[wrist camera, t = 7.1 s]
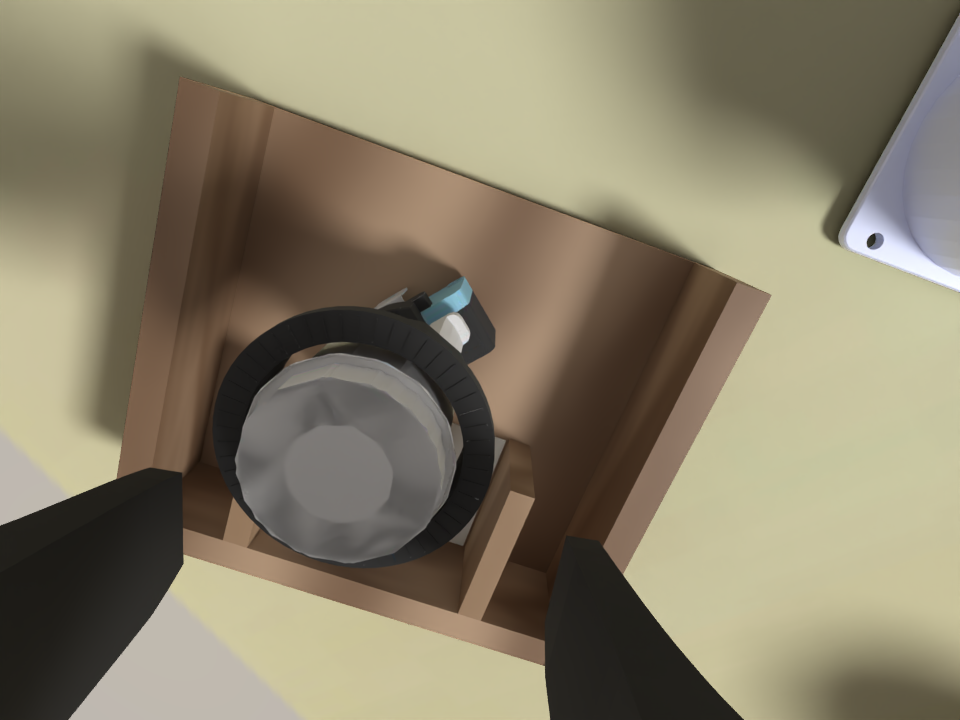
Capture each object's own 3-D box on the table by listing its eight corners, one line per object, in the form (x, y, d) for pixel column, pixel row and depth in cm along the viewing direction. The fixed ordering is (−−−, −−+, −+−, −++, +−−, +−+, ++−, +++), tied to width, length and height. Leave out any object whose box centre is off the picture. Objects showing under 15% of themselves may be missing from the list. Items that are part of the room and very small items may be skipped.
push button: (364, 444, 20) (246, 670, 11) (279, 320, 19) (61, 454, 10) (525, 359, 19) (549, 528, 10) (445, 221, 18) (384, 261, 8)
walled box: (715, 269, 19) (771, 295, 15) (558, 589, 23) (569, 673, 19) (251, 97, 18) (180, 76, 14) (178, 467, 22) (108, 530, 18)
